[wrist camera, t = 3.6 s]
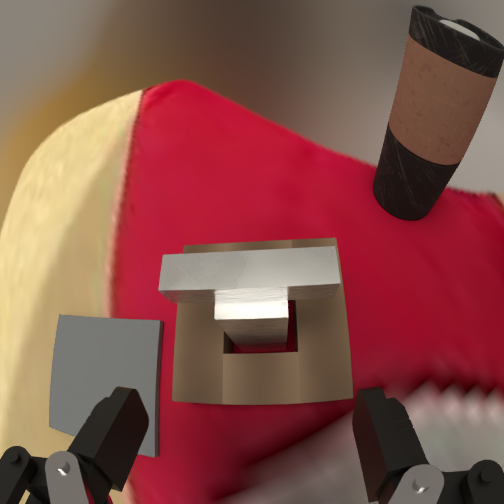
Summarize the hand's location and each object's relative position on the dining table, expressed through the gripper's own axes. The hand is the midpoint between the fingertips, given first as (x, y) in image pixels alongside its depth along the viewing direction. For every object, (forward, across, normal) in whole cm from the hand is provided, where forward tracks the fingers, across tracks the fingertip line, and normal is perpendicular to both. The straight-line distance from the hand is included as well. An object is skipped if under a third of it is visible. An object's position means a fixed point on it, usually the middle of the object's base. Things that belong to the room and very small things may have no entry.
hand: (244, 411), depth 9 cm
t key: (+13, 0, +5) cm, 14 cm away
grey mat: (+10, +15, +9) cm, 20 cm away
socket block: (+13, 0, +5) cm, 14 cm away
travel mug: (+23, -16, -4) cm, 28 cm away
